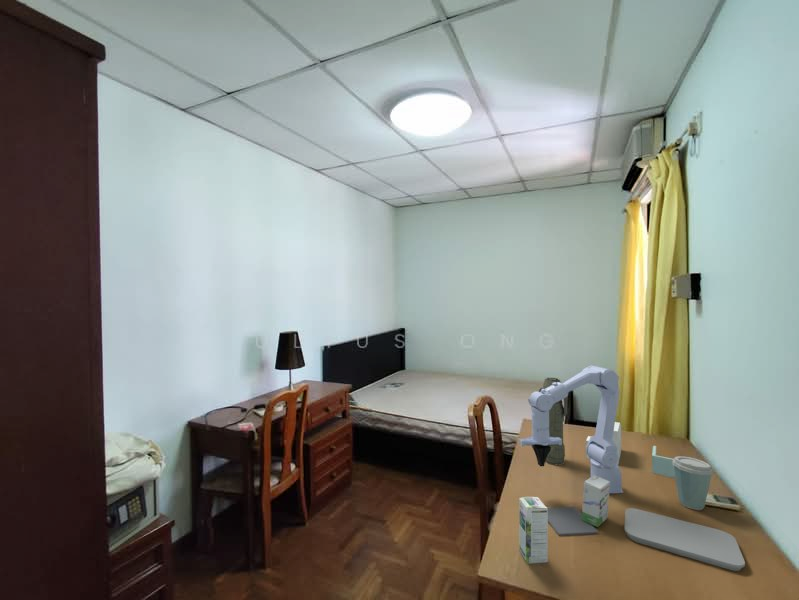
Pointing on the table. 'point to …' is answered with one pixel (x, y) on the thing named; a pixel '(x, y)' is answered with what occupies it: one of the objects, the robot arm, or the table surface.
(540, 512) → the syrup box
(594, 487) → the ink box
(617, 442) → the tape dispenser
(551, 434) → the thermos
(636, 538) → the tablet
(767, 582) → the table surface
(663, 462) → the l-shaped corner panel
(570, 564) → the table surface
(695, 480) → the disposable coffee cup
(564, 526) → the mat
